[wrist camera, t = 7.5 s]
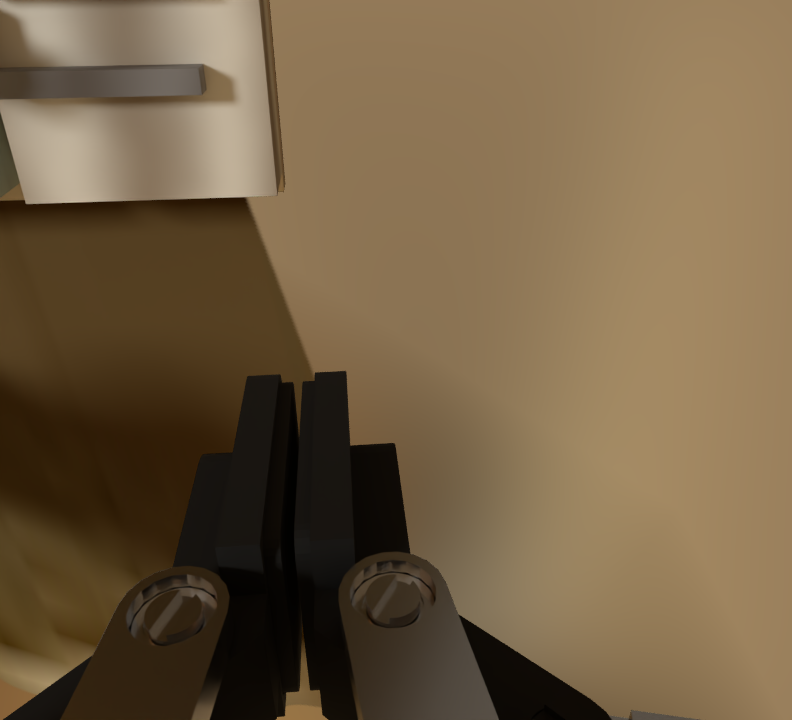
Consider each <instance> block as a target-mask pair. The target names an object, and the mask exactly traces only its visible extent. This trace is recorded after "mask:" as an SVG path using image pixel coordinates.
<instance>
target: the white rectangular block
mask: <svg viewBox="0 0 792 720" xmlns="http://www.w3.org/2000/svg"><path fill="white" fill-rule="evenodd" d="M284 187H285V176H284V164H283V153H282V142H281V129H280V118H279V106H278V96H277V84H276V72H275V60H274V49H273V37H272V26H271V16H270V4H269V0H0V201H8V200H25V202H26V204H43V203H74V202H106V201H137V200H168V199H199V198H230V197H259V196H277V195H278V192H284Z"/></svg>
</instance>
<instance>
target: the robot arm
mask: <svg viewBox="0 0 792 720" xmlns="http://www.w3.org/2000/svg"><path fill="white" fill-rule="evenodd" d="M302 623H303V632H304V640H305V649H306V658H307V667H308V676H309V685H310V690H320V695H321V705H322V714H323V716H325V717H326V718H327V719H328V720H698V719H691V718H684V717H676V716H669V715H662V714H655V713H648V712H641V711H633V710H631V712H630V716H629V718H623V717H615V716H609V715H608V714H607V712H606V711H604V710H603V709H602V708H601V707H600V706H598V705H597V704H596V703H595V702H593V701H592V700H591V699H589V698H588V697H587V696H585V695H583V694H582V693H580V692H579V691H577V690H575V689H574V688H572V687H571V686H569V685H568V684H566V683H565V682H563V681H562V680H560V679H558V678H557V677H555V676H554V675H552V674H551V673H549V672H548V671H546V670H544V669H543V668H541V667H539V666H538V665H537V664H535V663H534V662H531V661H530V660H529V659H527V658H526V657H524V656H523V655H521V654H519V653H518V652H516V651H514V650H513V649H512V648H510V647H508V646H507V645H505V644H504V643H502V642H501V641H499V640H498V639H496V638H495V637H493V636H491V635H490V634H488V633H487V632H485V631H484V630H482V629H481V628H479V627H477V626H476V625H474V624H473V623H471V622H469V621H468V620H466V619H465V618H463V617H462V616H460V615H459V614H458V612H457V610H456V607H455V605H454V602H453V599H452V597H451V594H450V592H449V589H448V586H447V584H446V582H445V580H444V578H443V577H442V575H441V573H440V572H439V570H438V569H437V568H435V567H434V566H433V565H432V564H431V563H430V562H428V561H427V560H425V559H422V558H420V557H418V556H416V555H414V554H410V548H409V541H408V534H407V526H406V519H405V512H404V505H403V498H402V490H401V483H400V475H399V468H398V461H397V454H396V447H395V444H394V443H387V444H370V445H354V446H350V433H349V416H348V395H347V376H346V371H338V372H320V373H315V381H305V382H303V384H302V401H301V419H300V436H299V433H298V423H297V412H296V402H295V392H294V384H293V382H286V383H282V380H281V376H280V374H279V375H260V376H248V377H247V380H246V385H245V391H244V396H243V401H242V407H241V412H240V417H239V423H238V428H237V433H236V438H235V444H234V449H233V453H216V454H203V455H202V456H201V458H200V461H199V464H198V468H197V472H196V476H195V480H194V484H193V488H192V492H191V496H190V500H189V504H188V508H187V512H186V516H185V520H184V524H183V528H182V532H181V536H180V540H179V544H178V548H177V552H176V556H175V560H174V564H173V567H172V568H169V569H165V570H162V571H159V572H156V573H154V574H152V575H150V576H148V577H147V578H145V579H143V580H141V581H140V582H139V583H137V584H136V585H135V586H134V587H133V588H132V589H130V590H129V591H128V592H127V593H126V595H125V596H124V598H123V599H122V600H121V602H120V603H119V605H118V606H117V608H116V610H115V612H114V614H113V616H112V618H111V620H110V622H109V624H108V626H107V628H106V630H105V632H104V634H103V636H102V638H101V640H100V642H99V644H98V646H97V648H96V650H95V652H94V654H93V655H92V656H91V657H90V658H88V659H87V660H85V661H84V662H83V663H81V664H80V665H78V666H77V667H76V668H74V669H73V670H71V671H70V672H69V673H67V674H66V675H65V676H63V677H62V678H60V679H59V680H58V681H56V682H55V683H53V684H52V685H51V686H49V687H48V688H46V689H45V690H44V691H42V692H41V693H39V694H38V695H37V696H35V697H34V698H33V699H31V700H30V701H28V702H27V703H26V704H24V705H23V706H22V707H20V708H19V709H17V710H16V711H14V712H13V713H12V714H10V715H9V716H8V717H6V718H5V719H3V720H276V719H277V717H281V716H285V704H286V692H298V691H299V688H300V666H301V640H302Z"/></svg>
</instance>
